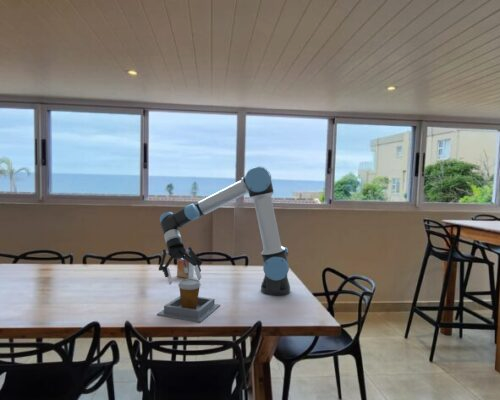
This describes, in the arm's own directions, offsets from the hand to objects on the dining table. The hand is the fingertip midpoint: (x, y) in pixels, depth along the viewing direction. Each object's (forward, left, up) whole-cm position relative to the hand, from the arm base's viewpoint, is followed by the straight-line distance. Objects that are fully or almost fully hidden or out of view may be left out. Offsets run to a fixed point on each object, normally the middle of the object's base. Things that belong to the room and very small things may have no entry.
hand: (185, 280), depth 157 cm
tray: (-3, +2, -12) cm, 13 cm away
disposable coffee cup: (-3, +2, -12) cm, 12 cm away
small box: (+24, -44, -12) cm, 51 cm away
